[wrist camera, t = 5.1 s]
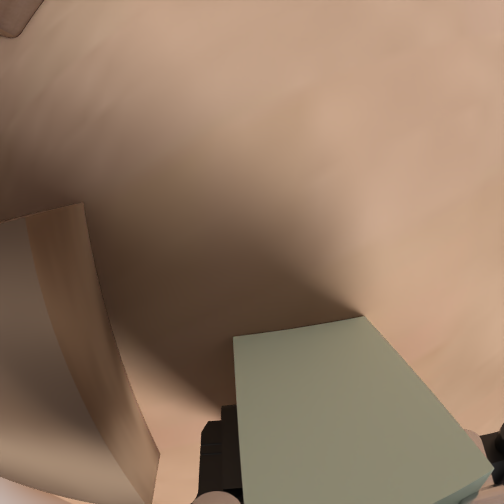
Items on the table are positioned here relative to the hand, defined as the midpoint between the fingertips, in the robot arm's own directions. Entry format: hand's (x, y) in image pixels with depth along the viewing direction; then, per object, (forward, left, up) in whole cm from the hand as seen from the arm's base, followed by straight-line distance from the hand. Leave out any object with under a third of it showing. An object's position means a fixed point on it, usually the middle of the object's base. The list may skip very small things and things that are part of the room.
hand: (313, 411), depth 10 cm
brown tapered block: (-2, -13, -2) cm, 13 cm away
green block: (0, 0, -2) cm, 2 cm away
